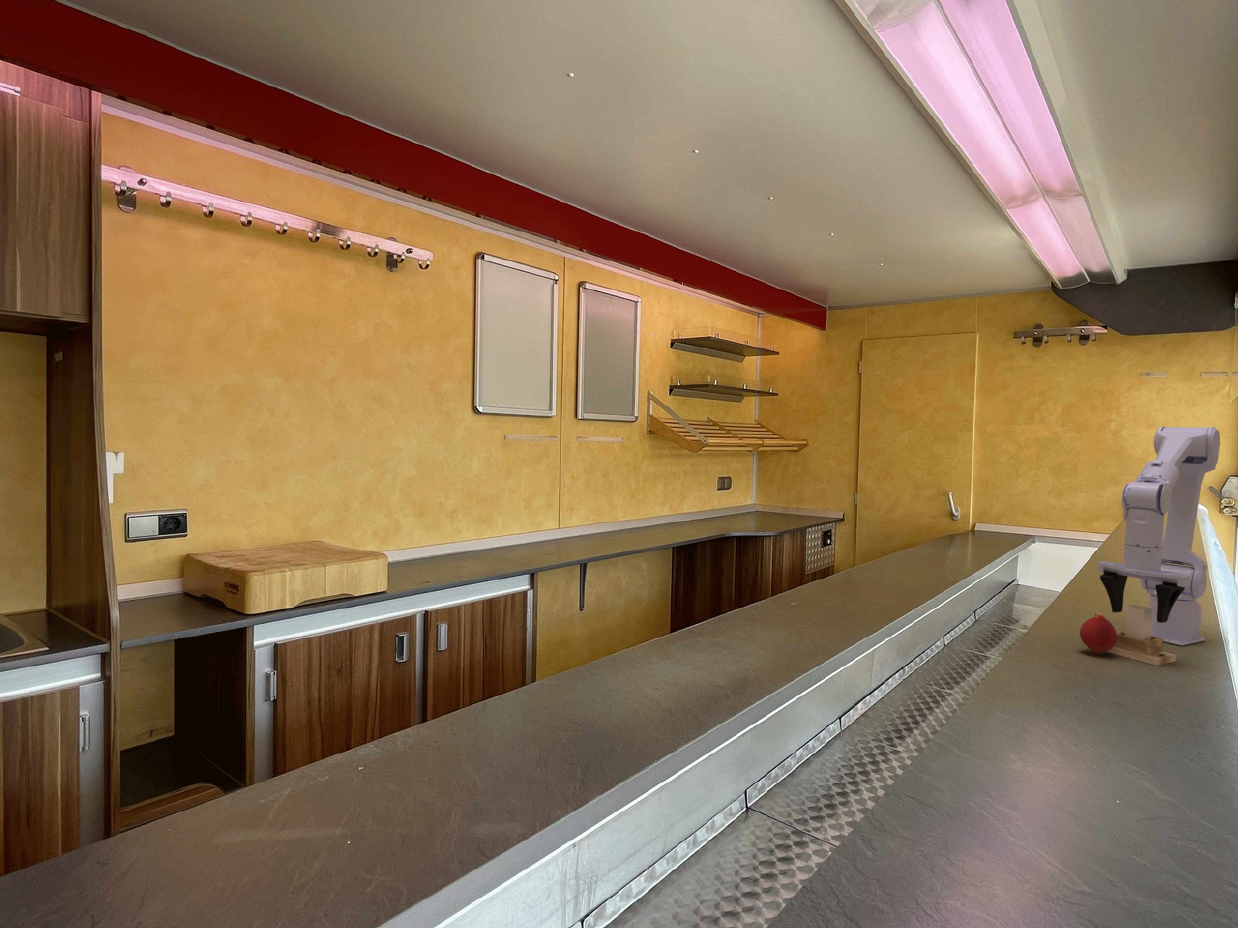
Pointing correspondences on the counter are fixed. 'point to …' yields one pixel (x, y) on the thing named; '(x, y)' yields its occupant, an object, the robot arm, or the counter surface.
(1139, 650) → the bracket
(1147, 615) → the post
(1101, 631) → the onion
